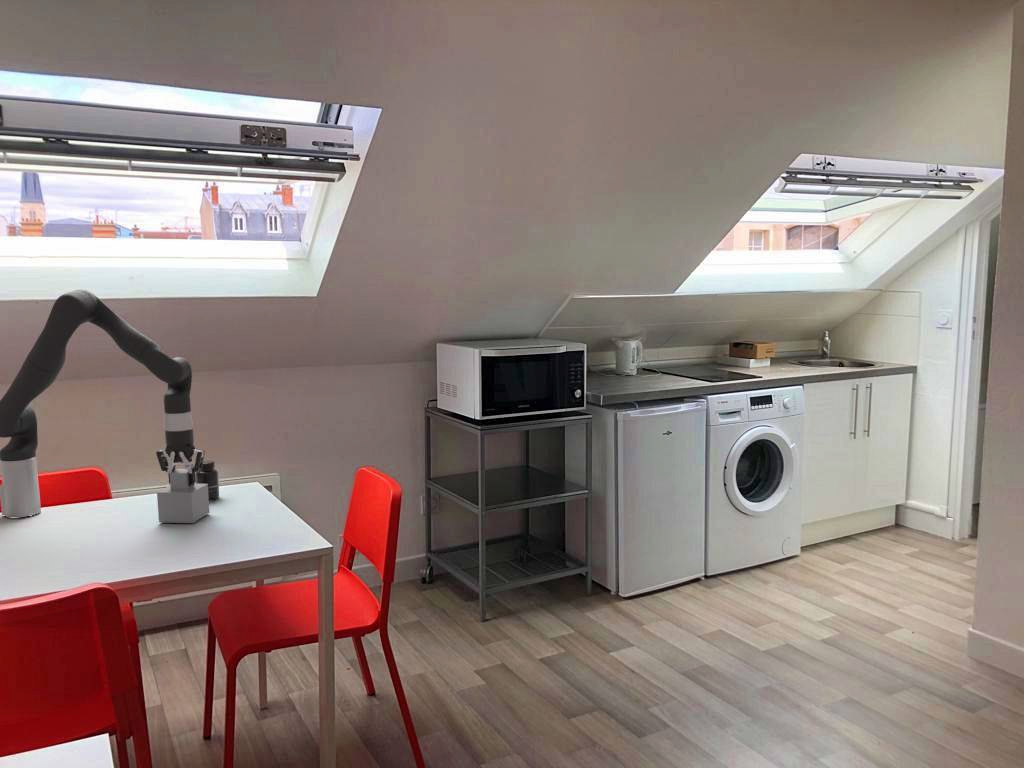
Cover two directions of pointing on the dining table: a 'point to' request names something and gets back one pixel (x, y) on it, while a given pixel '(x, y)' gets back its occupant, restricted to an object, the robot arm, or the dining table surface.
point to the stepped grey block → (182, 500)
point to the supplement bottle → (209, 479)
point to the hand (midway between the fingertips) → (182, 485)
